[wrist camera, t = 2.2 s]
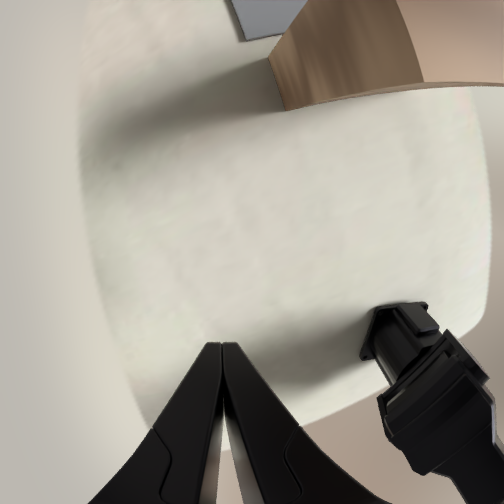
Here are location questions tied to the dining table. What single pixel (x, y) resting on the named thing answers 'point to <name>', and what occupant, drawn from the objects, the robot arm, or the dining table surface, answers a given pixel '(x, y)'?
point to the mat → (266, 16)
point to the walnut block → (387, 48)
